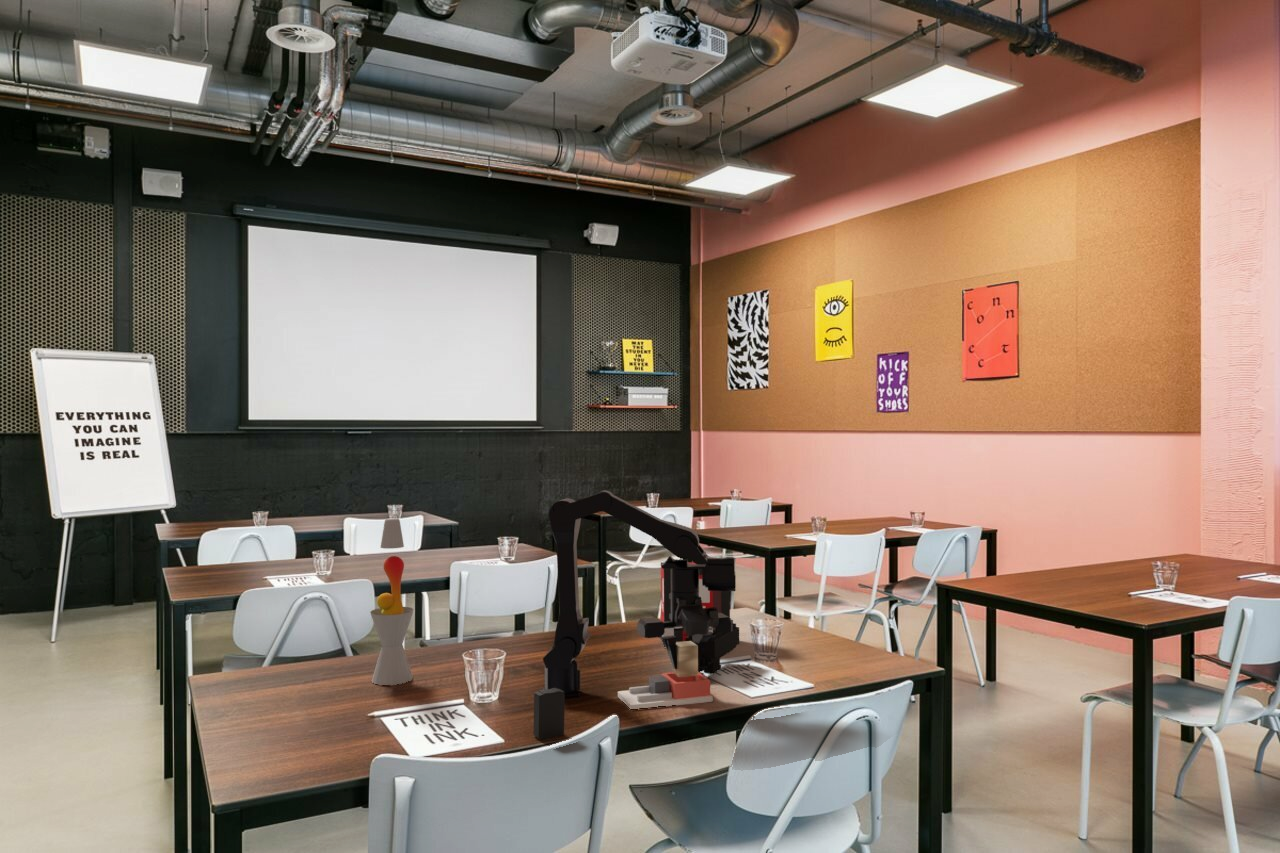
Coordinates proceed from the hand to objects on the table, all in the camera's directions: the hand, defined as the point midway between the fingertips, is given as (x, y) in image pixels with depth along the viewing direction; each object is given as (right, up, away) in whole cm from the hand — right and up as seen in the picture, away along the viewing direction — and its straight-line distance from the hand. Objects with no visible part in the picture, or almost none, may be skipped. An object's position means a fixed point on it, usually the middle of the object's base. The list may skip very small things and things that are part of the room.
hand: (685, 667), depth 166 cm
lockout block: (0, -1, 0) cm, 1 cm away
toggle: (-5, -5, -2) cm, 7 cm away
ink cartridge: (-25, -6, -22) cm, 34 cm away
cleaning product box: (+5, -7, +43) cm, 44 cm away
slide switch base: (-4, -6, -1) cm, 7 cm away
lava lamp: (-63, -7, +13) cm, 65 cm away
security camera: (+7, -6, +18) cm, 20 cm away
